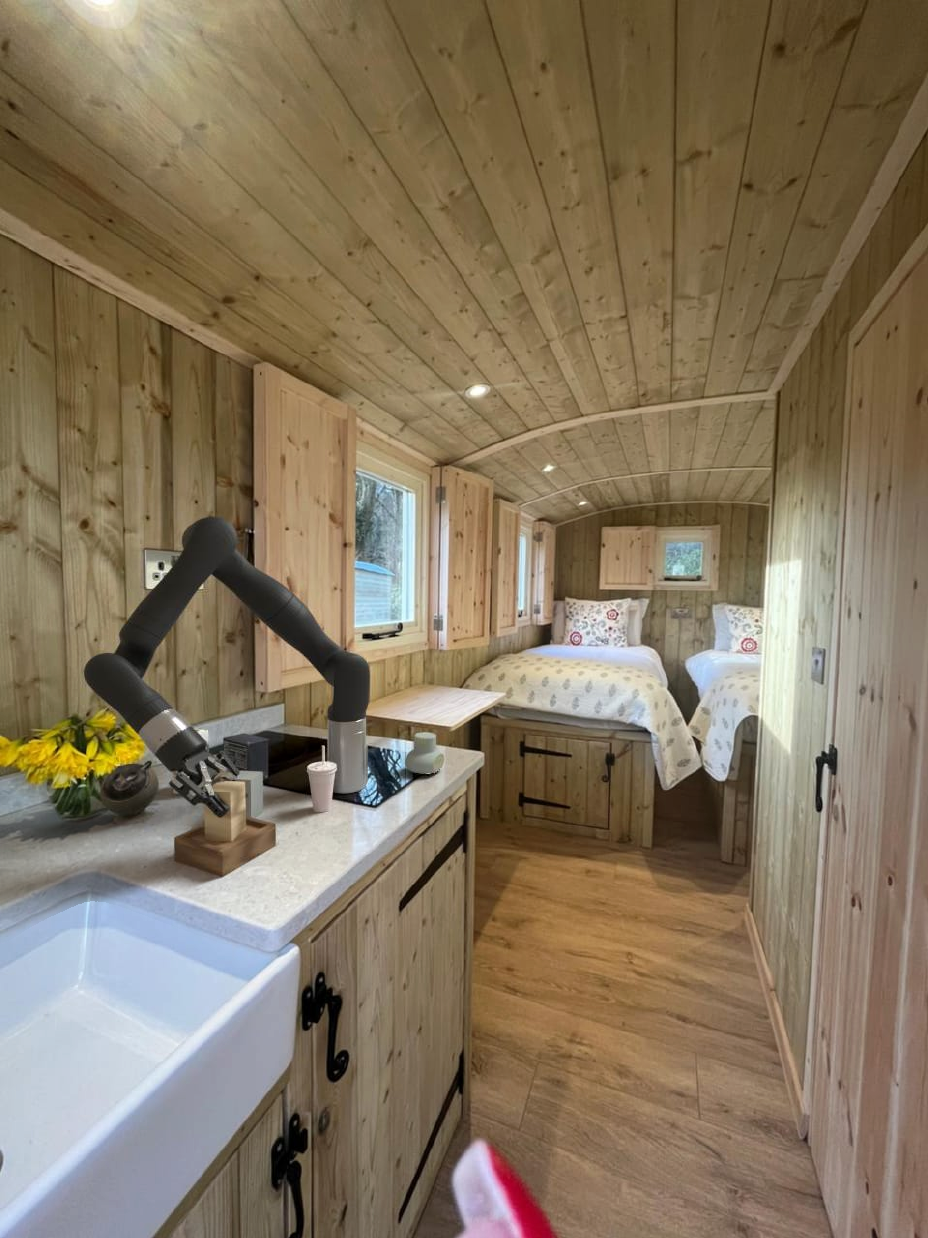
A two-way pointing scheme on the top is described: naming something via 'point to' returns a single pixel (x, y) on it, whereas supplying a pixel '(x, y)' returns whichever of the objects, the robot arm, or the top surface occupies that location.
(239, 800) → the oak block
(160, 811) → the top surface
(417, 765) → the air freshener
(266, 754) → the small box
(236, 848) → the walnut tray
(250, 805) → the grey block
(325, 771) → the smoothie
